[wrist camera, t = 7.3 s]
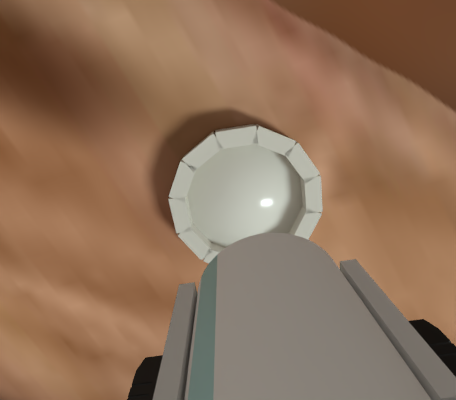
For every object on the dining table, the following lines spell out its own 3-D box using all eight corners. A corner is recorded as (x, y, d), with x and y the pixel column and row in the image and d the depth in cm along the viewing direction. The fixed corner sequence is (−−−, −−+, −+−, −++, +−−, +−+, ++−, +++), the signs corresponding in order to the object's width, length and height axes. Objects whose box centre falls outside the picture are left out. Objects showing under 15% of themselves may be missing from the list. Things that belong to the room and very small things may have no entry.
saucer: (189, 267, 31) (187, 279, 29) (160, 138, 26) (154, 141, 24) (317, 248, 30) (324, 259, 28) (310, 114, 26) (318, 115, 24)
